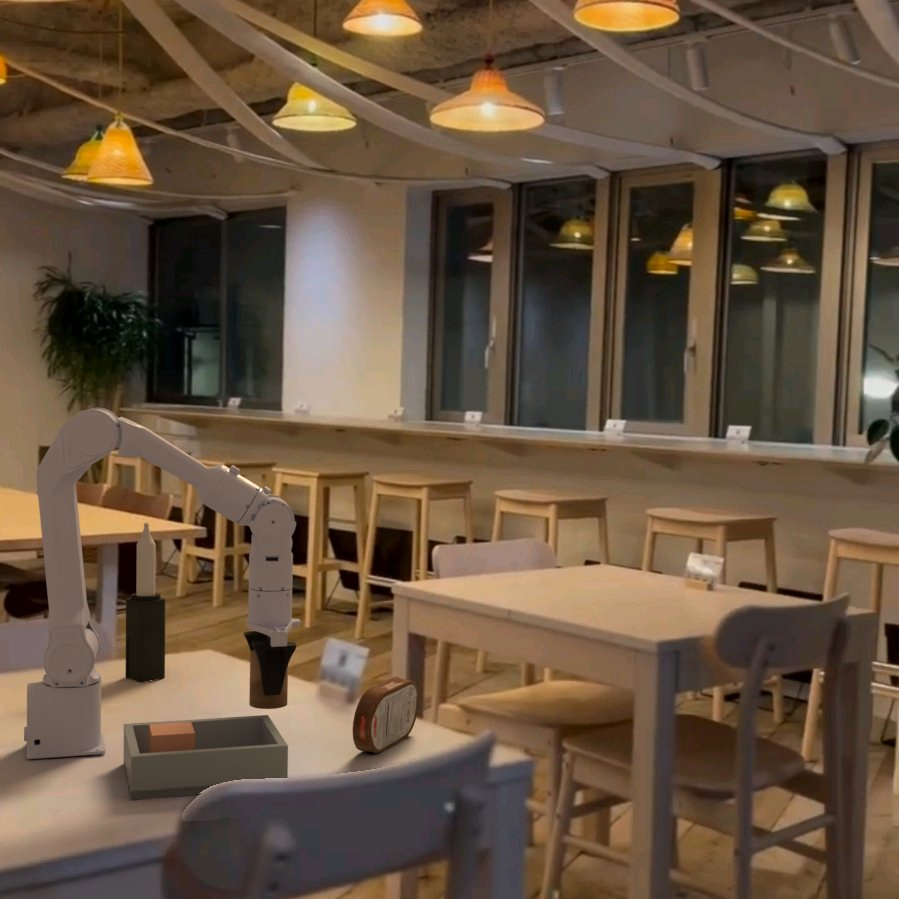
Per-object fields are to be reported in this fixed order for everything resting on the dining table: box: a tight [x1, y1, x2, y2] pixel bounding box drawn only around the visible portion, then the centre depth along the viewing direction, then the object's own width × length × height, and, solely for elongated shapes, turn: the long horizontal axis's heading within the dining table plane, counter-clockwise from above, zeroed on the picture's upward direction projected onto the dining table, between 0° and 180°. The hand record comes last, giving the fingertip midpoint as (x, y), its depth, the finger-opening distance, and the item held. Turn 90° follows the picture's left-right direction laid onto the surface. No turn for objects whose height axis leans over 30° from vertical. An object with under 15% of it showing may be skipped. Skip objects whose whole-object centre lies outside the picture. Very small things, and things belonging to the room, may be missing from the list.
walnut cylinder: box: [248, 650, 289, 710], centre depth 165 cm, size 5×5×7 cm
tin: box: [352, 676, 419, 754], centre depth 166 cm, size 15×3×8 cm, turn 156°
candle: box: [124, 522, 166, 683], centre depth 199 cm, size 5×5×25 cm
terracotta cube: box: [149, 722, 195, 753], centre depth 150 cm, size 5×5×5 cm
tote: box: [123, 714, 289, 801], centre depth 151 cm, size 18×14×5 cm
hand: (268, 689), depth 166 cm, fingers closed on walnut cylinder, 5 cm apart
